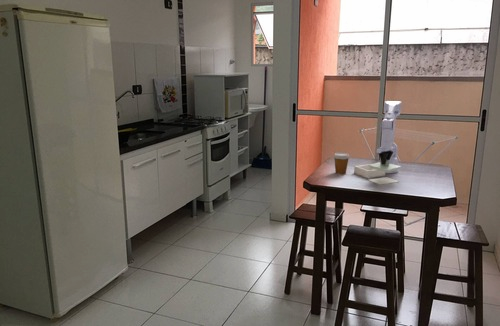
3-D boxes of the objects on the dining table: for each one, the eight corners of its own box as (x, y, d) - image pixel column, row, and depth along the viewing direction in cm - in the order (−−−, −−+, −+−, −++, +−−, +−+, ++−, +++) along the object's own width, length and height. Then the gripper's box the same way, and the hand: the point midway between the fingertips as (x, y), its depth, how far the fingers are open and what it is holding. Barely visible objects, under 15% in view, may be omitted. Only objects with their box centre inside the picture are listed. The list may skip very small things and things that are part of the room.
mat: (387, 177, 248) (387, 177, 248) (399, 182, 239) (399, 181, 239) (368, 180, 242) (368, 179, 242) (379, 184, 233) (379, 184, 233)
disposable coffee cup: (348, 175, 253) (349, 156, 250) (332, 174, 255) (333, 155, 252) (348, 171, 262) (349, 152, 259) (332, 170, 264) (333, 152, 261)
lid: (381, 164, 248) (382, 155, 246) (400, 169, 238) (401, 160, 236) (367, 167, 240) (368, 158, 239) (387, 173, 230) (387, 163, 229)
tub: (370, 171, 263) (371, 164, 262) (385, 176, 252) (385, 168, 250) (354, 173, 258) (354, 166, 257) (367, 178, 246) (368, 171, 245)
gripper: (388, 138, 242) (386, 160, 246) (372, 140, 234) (371, 164, 237) (398, 139, 237) (397, 163, 240) (383, 142, 228) (381, 166, 232)
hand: (384, 163), depth 238 cm, fingers closed on lid, 2 cm apart
